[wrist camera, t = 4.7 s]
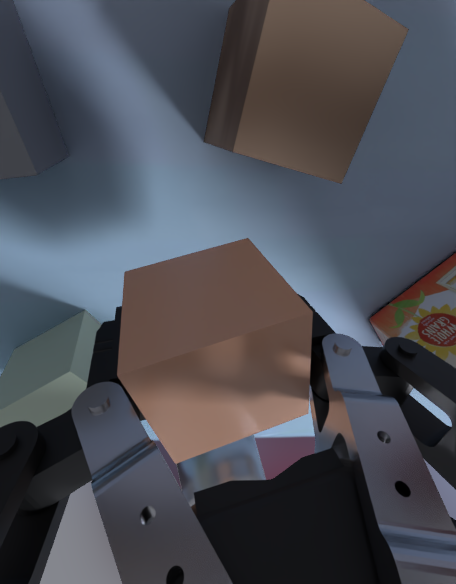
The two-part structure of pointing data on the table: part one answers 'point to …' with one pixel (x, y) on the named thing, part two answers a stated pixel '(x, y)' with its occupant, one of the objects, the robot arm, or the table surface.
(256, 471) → the plastic bottle
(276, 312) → the terracotta cube
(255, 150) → the walnut cube
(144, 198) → the table surface
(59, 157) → the charcoal cube
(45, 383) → the sage cube
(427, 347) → the cracker box
